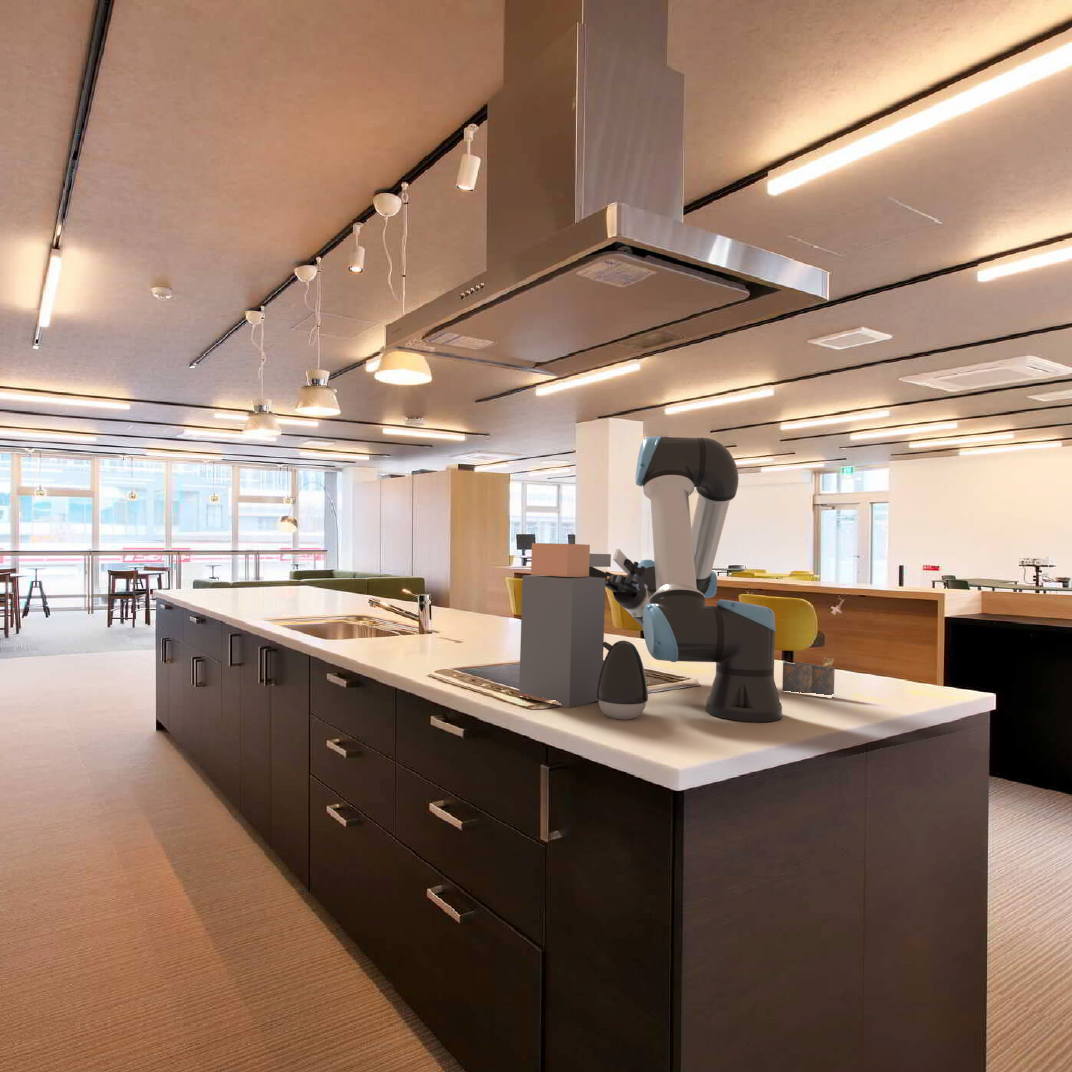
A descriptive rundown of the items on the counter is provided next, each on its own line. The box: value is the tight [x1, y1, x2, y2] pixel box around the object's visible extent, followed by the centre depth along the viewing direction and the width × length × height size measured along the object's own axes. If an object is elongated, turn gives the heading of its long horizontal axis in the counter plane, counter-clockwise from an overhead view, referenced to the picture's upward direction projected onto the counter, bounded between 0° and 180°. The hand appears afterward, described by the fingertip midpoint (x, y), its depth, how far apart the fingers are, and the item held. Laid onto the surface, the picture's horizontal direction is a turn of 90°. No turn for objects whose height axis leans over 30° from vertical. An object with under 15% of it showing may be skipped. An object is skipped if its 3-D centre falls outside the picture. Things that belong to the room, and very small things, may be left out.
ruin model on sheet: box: [781, 656, 836, 695], centre depth 175 cm, size 25×16×10 cm, turn 55°
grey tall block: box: [518, 575, 606, 709], centre depth 162 cm, size 12×14×27 cm
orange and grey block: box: [530, 542, 612, 577], centre depth 166 cm, size 22×10×7 cm, turn 140°
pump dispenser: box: [597, 640, 649, 720], centre depth 146 cm, size 10×10×15 cm
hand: (591, 553), depth 170 cm, fingers open, 13 cm apart
